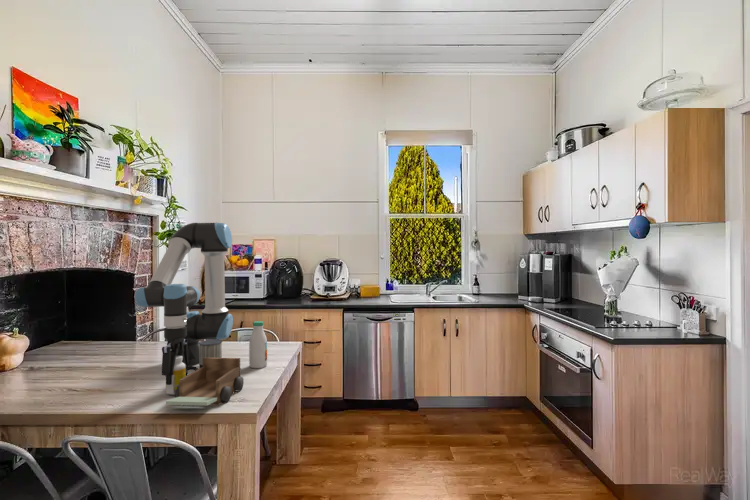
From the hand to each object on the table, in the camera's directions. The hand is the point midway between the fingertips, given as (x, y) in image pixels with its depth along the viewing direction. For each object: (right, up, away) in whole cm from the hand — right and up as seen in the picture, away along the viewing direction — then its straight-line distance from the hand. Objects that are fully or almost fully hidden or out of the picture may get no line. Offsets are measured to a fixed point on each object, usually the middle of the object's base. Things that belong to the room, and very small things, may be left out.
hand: (175, 389), depth 152 cm
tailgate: (+13, +1, -12) cm, 18 cm away
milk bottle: (+20, -1, +34) cm, 40 cm away
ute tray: (+14, -1, -2) cm, 14 cm away
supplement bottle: (0, -1, 0) cm, 1 cm away
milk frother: (+2, -1, +18) cm, 18 cm away
